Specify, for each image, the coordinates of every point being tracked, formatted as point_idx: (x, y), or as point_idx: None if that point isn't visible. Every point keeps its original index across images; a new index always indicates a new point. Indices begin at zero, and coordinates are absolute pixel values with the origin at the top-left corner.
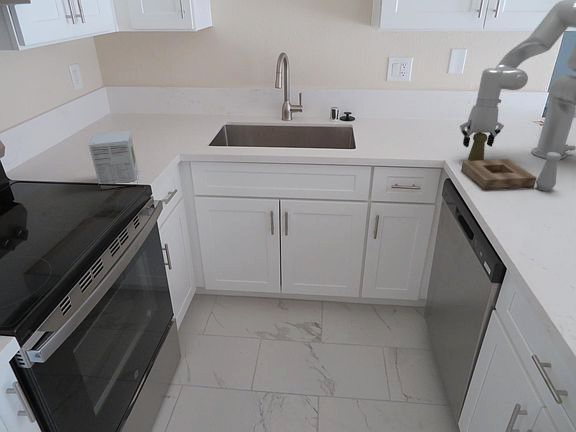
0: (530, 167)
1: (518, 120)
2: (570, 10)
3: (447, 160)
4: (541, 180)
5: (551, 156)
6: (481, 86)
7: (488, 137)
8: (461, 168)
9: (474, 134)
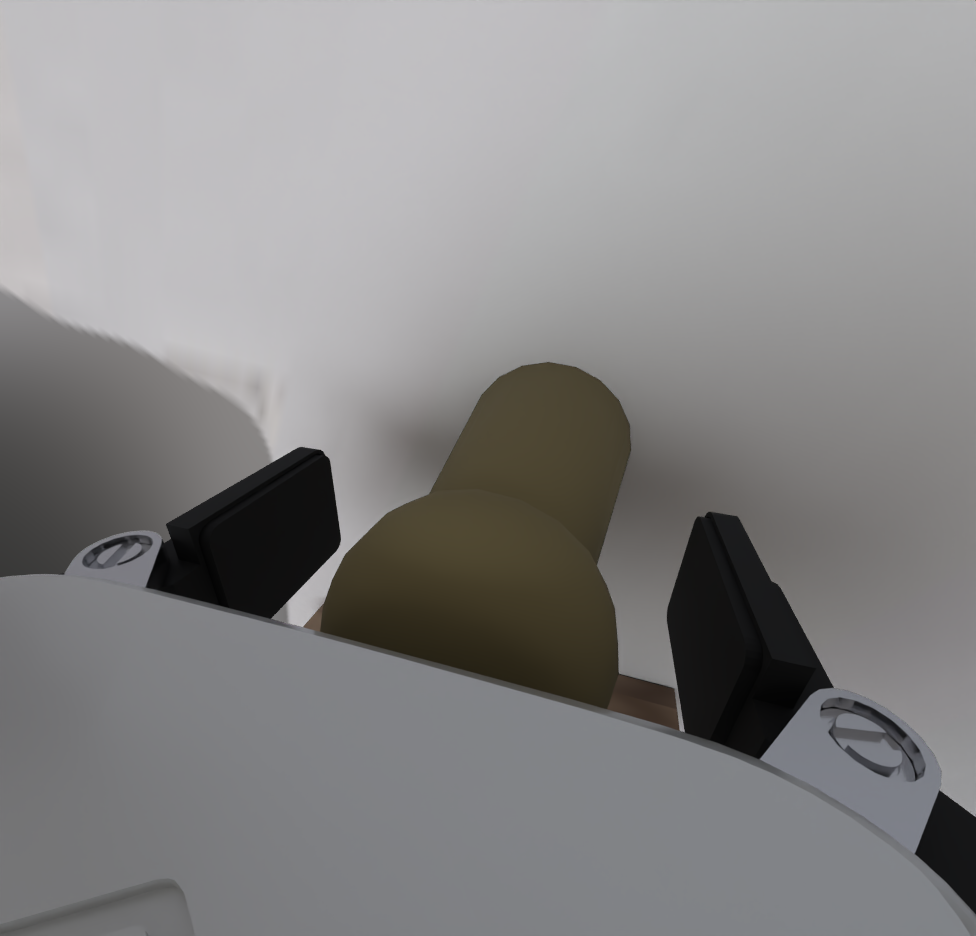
0: (939, 749)
1: None
2: None
3: (283, 391)
4: None
5: None
6: None
7: (727, 622)
8: (316, 612)
9: (326, 605)
